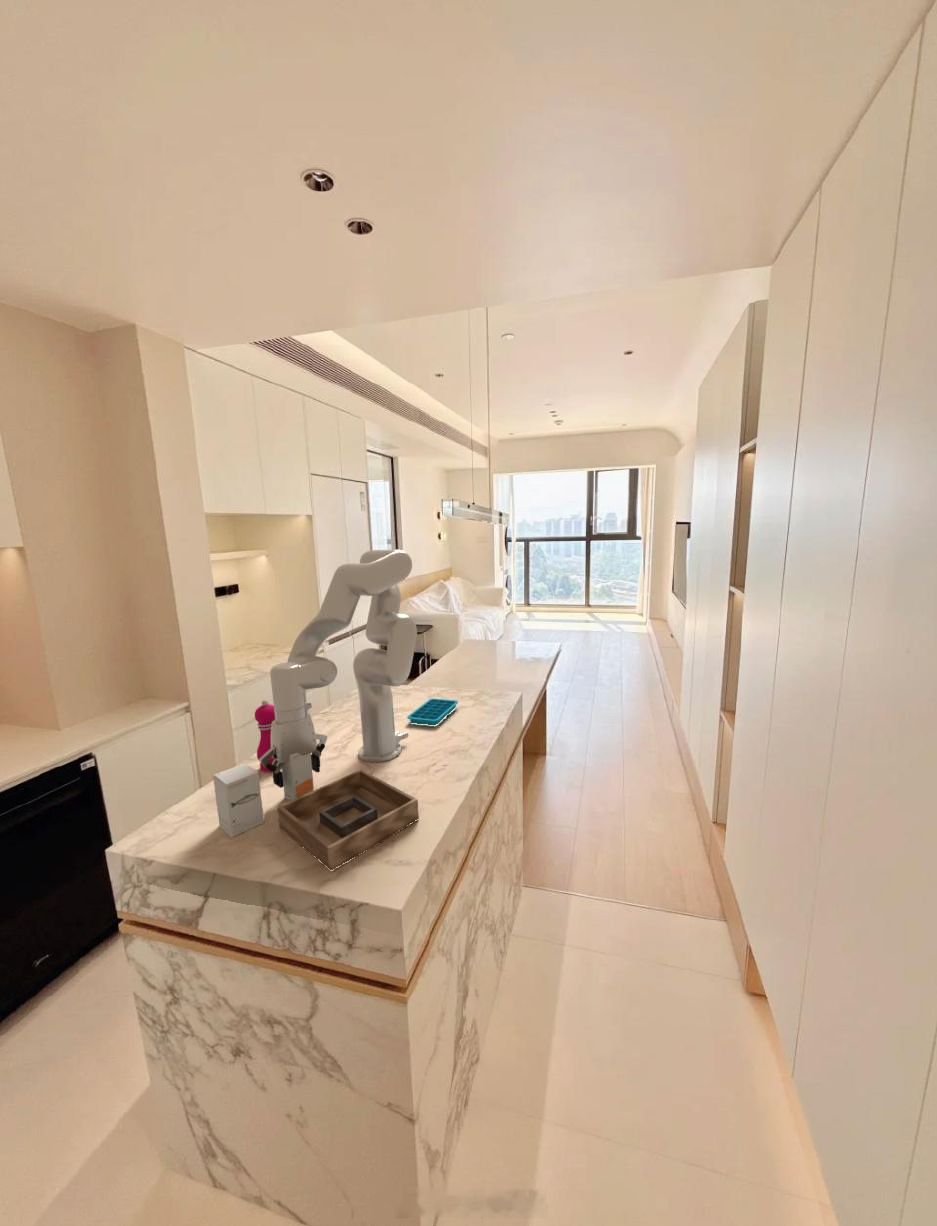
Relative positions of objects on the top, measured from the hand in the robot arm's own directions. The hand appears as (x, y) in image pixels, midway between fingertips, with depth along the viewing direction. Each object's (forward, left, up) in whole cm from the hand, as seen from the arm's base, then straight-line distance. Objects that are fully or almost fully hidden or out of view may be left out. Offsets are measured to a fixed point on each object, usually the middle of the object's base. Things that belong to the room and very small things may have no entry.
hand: (298, 777), depth 119 cm
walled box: (-1, +21, -4) cm, 21 cm away
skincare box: (0, 0, -5) cm, 5 cm away
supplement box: (+15, +2, -5) cm, 16 cm away
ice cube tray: (-57, -12, -5) cm, 58 cm away
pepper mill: (-2, -20, -4) cm, 21 cm away
